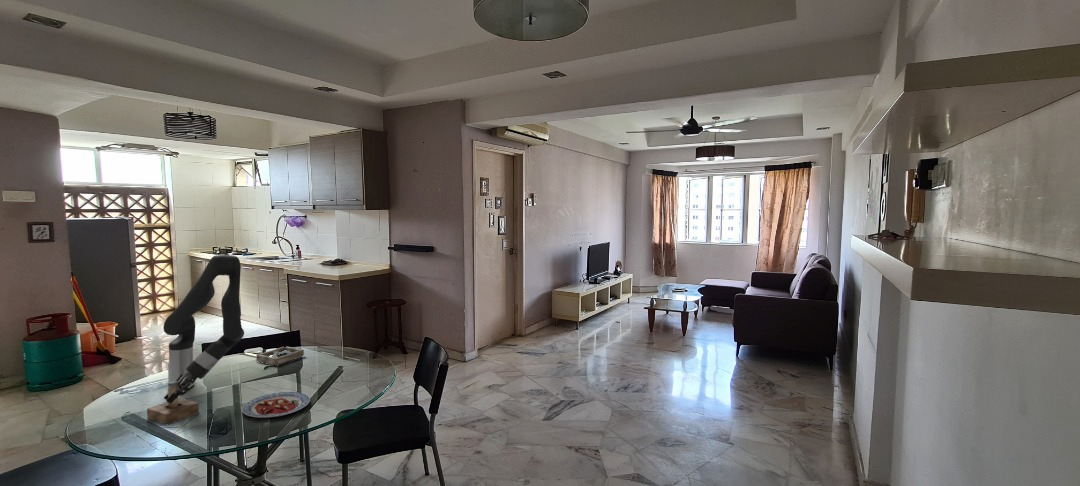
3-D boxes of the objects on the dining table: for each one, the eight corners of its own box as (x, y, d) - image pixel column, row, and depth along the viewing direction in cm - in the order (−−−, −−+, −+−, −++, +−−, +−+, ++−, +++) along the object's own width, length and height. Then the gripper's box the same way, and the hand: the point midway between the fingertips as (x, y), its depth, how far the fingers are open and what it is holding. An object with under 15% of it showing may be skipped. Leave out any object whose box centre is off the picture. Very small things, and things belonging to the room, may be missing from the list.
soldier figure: (266, 366, 252) (263, 354, 261) (273, 370, 255) (270, 358, 264) (278, 356, 254) (275, 344, 262) (285, 360, 257) (281, 348, 266)
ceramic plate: (238, 426, 184) (238, 419, 184) (245, 401, 207) (245, 394, 206) (310, 415, 196) (310, 409, 196) (309, 393, 219) (309, 387, 218)
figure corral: (256, 362, 255) (256, 355, 255) (285, 352, 273) (285, 346, 272) (275, 366, 250) (275, 359, 250) (303, 356, 268) (303, 349, 267)
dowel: (166, 411, 189) (166, 383, 188) (175, 408, 192) (174, 380, 191) (171, 413, 187) (171, 384, 187) (180, 410, 190) (179, 382, 190)
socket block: (147, 418, 186) (147, 408, 186) (179, 407, 197) (179, 397, 197) (167, 424, 182) (167, 414, 182) (198, 412, 193) (198, 402, 193)
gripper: (190, 356, 198) (154, 391, 190) (200, 364, 189) (162, 401, 181) (205, 365, 203) (170, 400, 194) (215, 373, 194) (179, 410, 185)
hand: (167, 400), depth 188 cm, fingers closed on dowel, 3 cm apart
